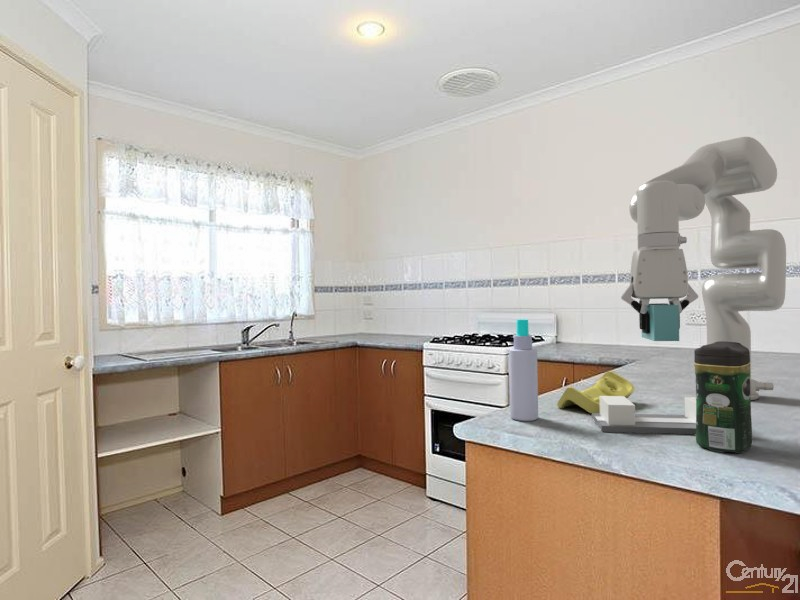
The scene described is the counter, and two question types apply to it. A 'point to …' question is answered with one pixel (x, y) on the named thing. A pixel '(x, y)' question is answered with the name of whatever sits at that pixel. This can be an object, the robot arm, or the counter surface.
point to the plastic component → (597, 392)
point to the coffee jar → (723, 397)
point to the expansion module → (663, 322)
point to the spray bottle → (523, 375)
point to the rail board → (643, 418)
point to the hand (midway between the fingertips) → (659, 331)
